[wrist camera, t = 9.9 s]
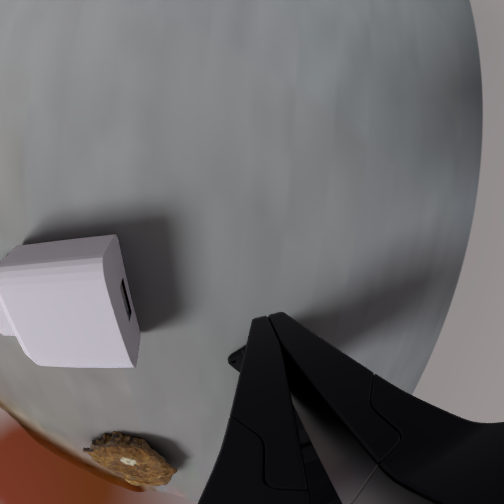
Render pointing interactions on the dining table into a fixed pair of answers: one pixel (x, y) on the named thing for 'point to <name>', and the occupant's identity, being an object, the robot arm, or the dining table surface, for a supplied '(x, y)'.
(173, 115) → the dining table surface
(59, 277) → the charger
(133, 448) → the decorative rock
